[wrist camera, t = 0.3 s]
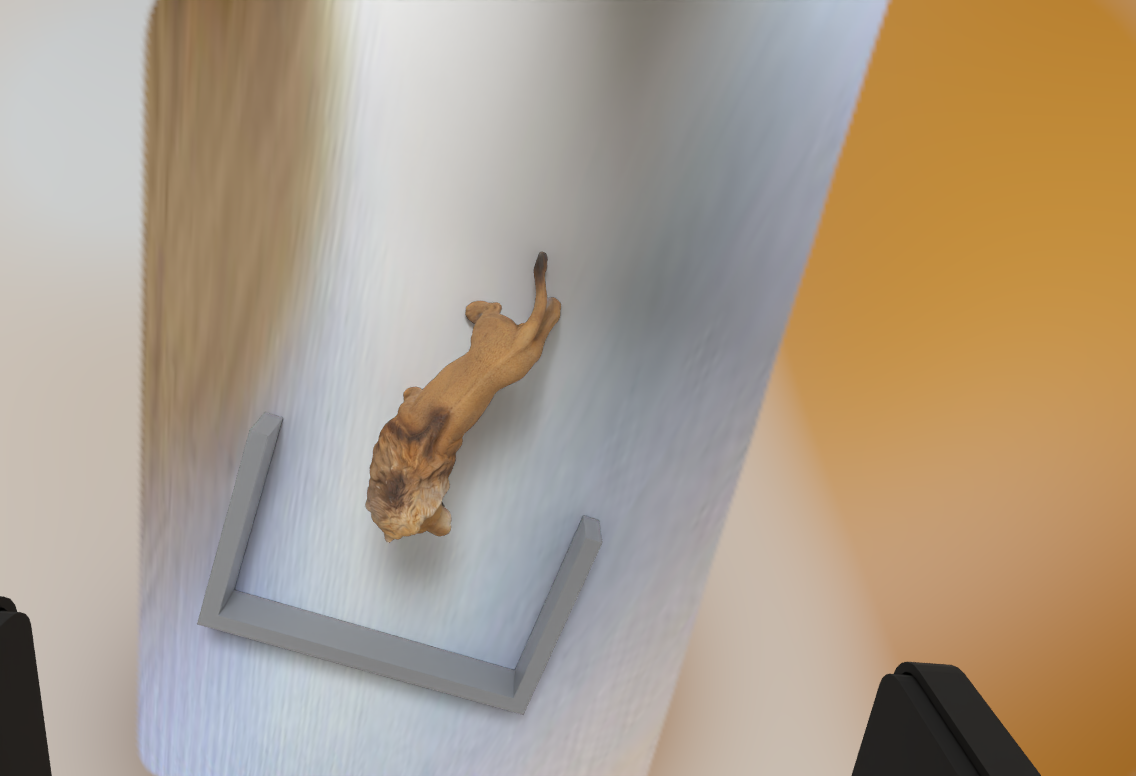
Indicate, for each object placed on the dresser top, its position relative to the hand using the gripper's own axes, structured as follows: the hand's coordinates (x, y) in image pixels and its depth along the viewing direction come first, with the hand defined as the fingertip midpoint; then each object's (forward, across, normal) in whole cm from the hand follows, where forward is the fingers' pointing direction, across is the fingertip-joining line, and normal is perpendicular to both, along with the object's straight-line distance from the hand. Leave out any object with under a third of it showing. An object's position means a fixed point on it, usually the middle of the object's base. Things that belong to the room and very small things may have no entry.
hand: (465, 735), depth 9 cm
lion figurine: (+34, +2, +8) cm, 35 cm away
